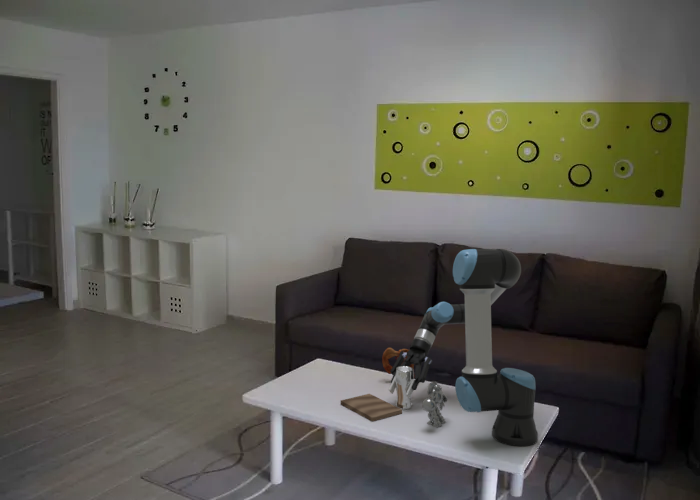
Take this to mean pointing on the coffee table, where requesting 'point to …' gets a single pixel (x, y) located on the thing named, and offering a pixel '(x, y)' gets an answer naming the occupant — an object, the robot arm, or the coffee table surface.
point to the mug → (389, 354)
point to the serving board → (371, 407)
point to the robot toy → (434, 404)
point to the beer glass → (403, 386)
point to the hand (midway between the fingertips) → (399, 394)
